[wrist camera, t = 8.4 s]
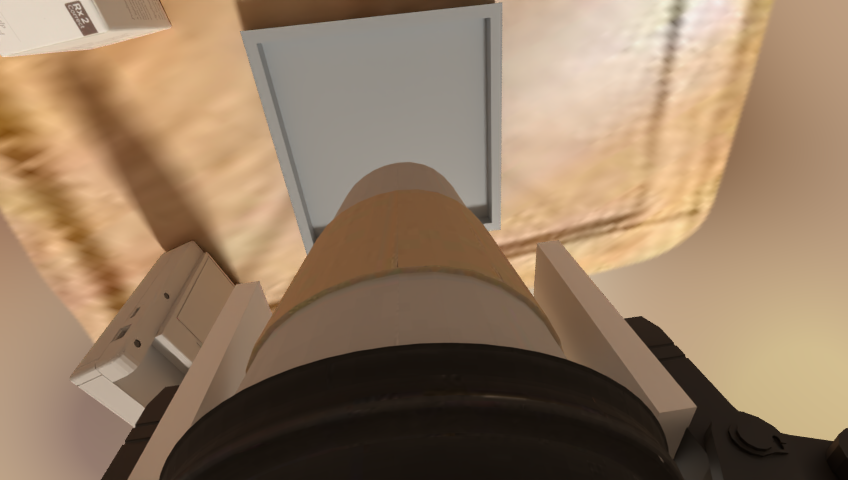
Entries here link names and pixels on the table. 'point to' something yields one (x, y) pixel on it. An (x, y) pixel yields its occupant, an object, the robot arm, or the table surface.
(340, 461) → the coffee cup
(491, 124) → the grey tray
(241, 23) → the table surface
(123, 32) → the skincare box
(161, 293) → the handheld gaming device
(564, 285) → the robot arm
